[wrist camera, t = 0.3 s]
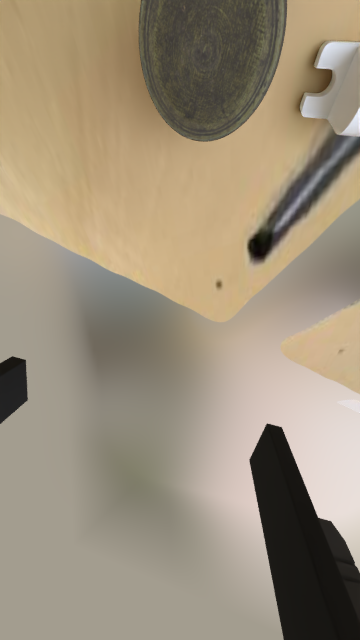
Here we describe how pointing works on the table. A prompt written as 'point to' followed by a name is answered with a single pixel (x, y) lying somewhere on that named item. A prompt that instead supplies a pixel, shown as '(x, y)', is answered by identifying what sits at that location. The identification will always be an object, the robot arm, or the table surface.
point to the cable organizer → (337, 88)
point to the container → (209, 60)
